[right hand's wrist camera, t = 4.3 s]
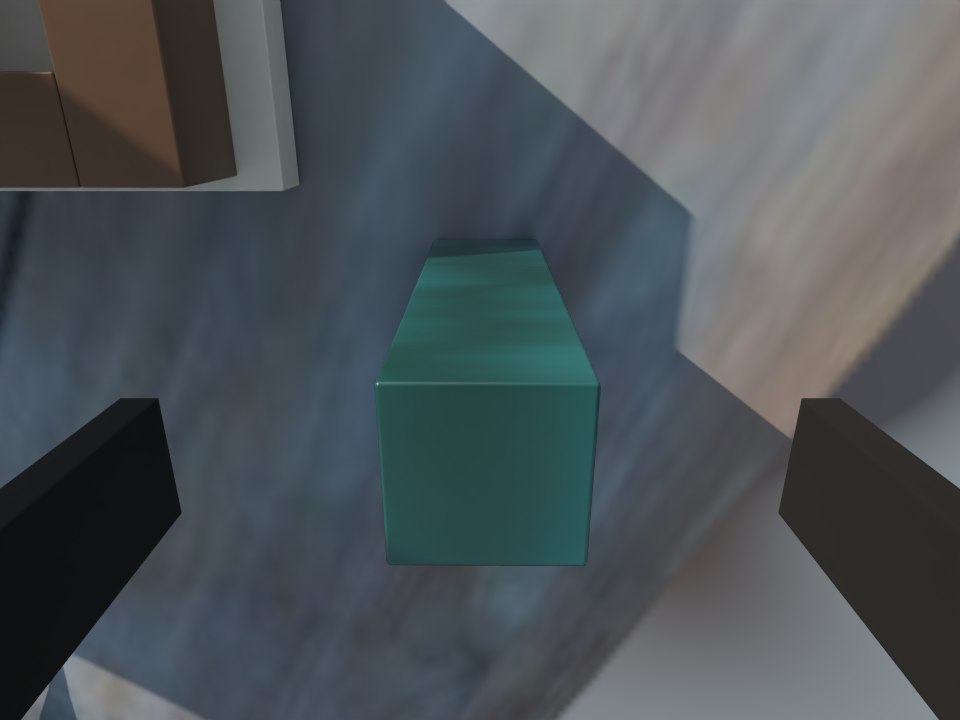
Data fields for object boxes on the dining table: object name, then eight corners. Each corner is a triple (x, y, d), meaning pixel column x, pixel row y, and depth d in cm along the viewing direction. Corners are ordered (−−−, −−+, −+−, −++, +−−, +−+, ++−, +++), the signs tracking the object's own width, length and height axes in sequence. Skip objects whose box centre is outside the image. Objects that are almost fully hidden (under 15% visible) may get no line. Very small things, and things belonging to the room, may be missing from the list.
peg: (537, 239, 24) (602, 382, 11) (533, 336, 25) (587, 567, 12) (434, 238, 24) (373, 382, 11) (436, 336, 25) (385, 567, 12)
